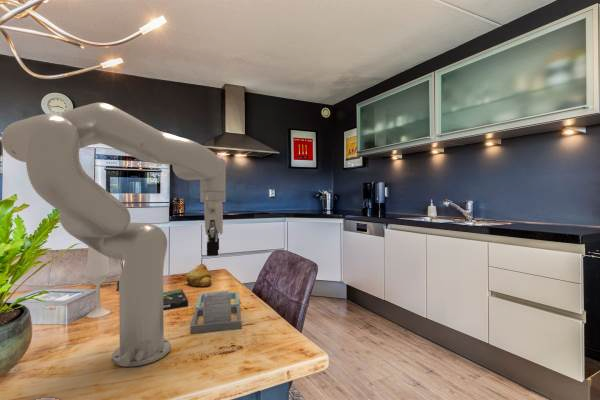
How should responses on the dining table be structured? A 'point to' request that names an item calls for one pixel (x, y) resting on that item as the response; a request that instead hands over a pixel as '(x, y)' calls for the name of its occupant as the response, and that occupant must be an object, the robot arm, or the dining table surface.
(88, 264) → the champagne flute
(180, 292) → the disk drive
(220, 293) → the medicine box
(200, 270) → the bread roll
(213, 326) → the dock
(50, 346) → the dining table surface
